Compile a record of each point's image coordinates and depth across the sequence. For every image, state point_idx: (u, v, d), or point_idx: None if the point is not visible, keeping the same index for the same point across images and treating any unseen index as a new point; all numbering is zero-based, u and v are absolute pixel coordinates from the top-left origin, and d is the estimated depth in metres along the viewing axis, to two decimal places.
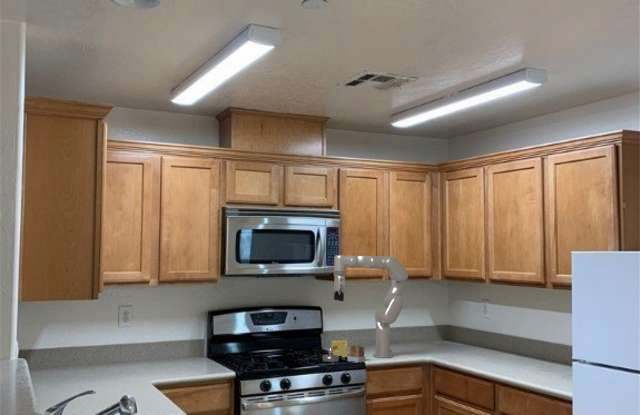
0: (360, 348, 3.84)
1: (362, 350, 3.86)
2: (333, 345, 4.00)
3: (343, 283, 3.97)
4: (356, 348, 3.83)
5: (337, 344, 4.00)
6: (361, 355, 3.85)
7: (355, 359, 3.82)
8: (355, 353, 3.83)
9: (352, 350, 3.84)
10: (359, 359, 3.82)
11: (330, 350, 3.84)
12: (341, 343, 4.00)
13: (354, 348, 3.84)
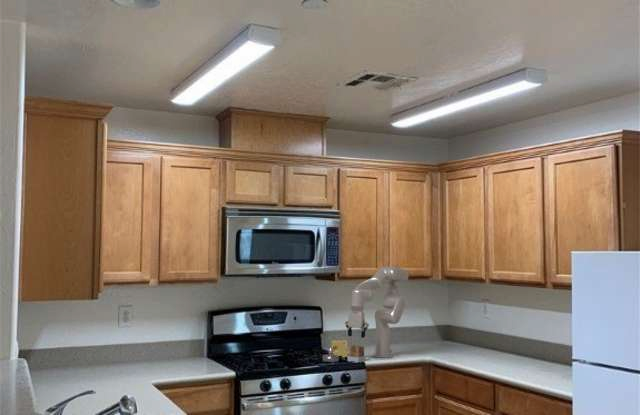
0: (360, 348, 3.84)
1: (362, 350, 3.86)
2: (333, 345, 4.00)
3: None
4: (356, 348, 3.83)
5: (337, 344, 4.00)
6: (361, 355, 3.85)
7: (355, 359, 3.82)
8: (355, 353, 3.83)
9: (352, 350, 3.84)
10: (359, 359, 3.82)
11: (330, 350, 3.84)
12: (341, 343, 4.00)
13: (354, 348, 3.84)
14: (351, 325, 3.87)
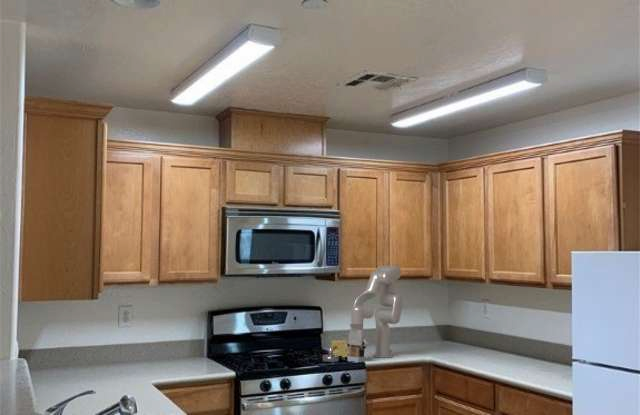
0: None
1: None
2: (333, 345, 4.00)
3: None
4: (356, 348, 3.83)
5: (337, 344, 4.00)
6: None
7: (355, 359, 3.82)
8: (355, 353, 3.83)
9: (352, 350, 3.84)
10: (359, 359, 3.82)
11: (330, 350, 3.84)
12: (341, 343, 4.00)
13: (354, 348, 3.84)
14: (351, 342, 3.86)
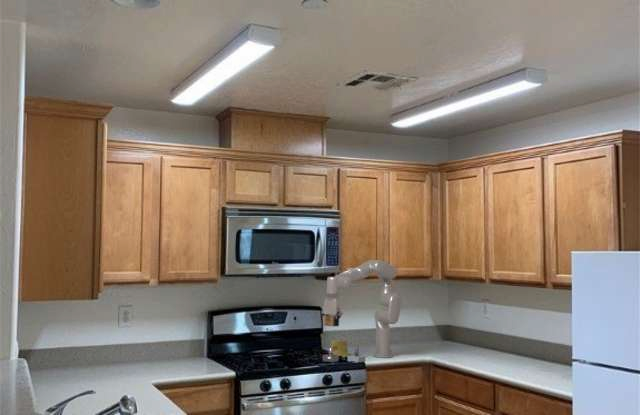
0: None
1: None
2: (333, 345, 4.00)
3: None
4: (331, 317, 3.82)
5: (337, 344, 4.00)
6: None
7: (355, 359, 3.82)
8: (329, 322, 3.82)
9: (327, 319, 3.84)
10: (359, 359, 3.82)
11: (330, 350, 3.84)
12: (341, 343, 4.00)
13: (329, 317, 3.83)
14: (326, 312, 3.86)
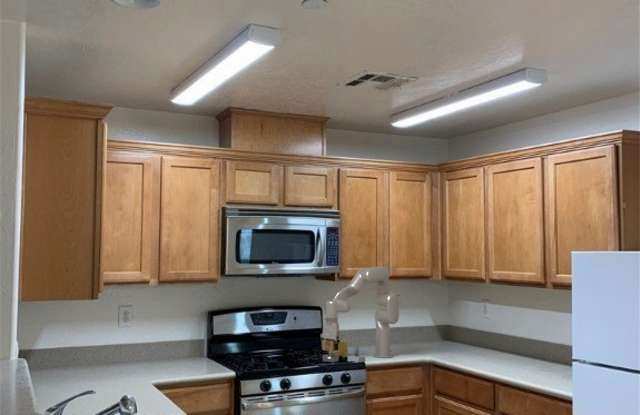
0: (334, 342, 3.82)
1: None
2: None
3: None
4: (330, 342, 3.81)
5: None
6: None
7: (355, 359, 3.82)
8: (329, 347, 3.81)
9: (326, 344, 3.83)
10: (359, 359, 3.82)
11: None
12: (341, 343, 4.00)
13: (328, 342, 3.82)
14: (326, 336, 3.84)
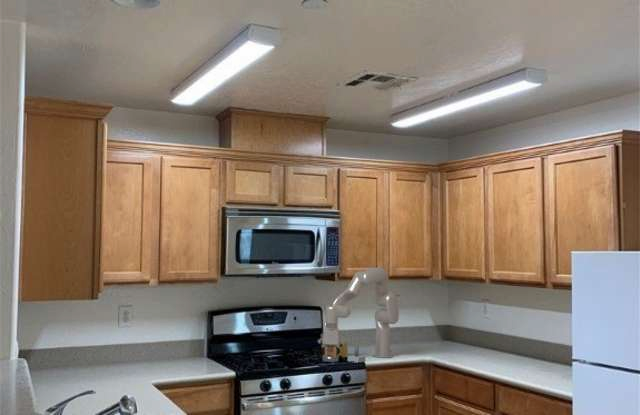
0: (336, 347, 3.83)
1: (336, 349, 3.86)
2: None
3: (323, 335, 3.85)
4: (333, 348, 3.81)
5: None
6: (336, 354, 3.84)
7: (355, 359, 3.82)
8: (332, 353, 3.81)
9: (329, 350, 3.81)
10: (359, 359, 3.82)
11: None
12: None
13: (331, 348, 3.81)
14: (327, 342, 3.83)
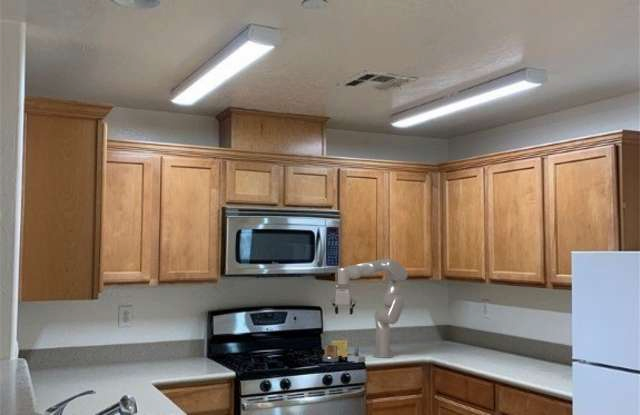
0: (336, 347, 3.83)
1: (336, 349, 3.86)
2: None
3: None
4: (333, 348, 3.81)
5: (337, 344, 4.00)
6: (336, 354, 3.84)
7: (355, 359, 3.82)
8: (332, 353, 3.81)
9: (329, 350, 3.81)
10: (359, 359, 3.82)
11: None
12: (341, 343, 4.00)
13: (331, 348, 3.81)
14: (339, 302, 3.91)
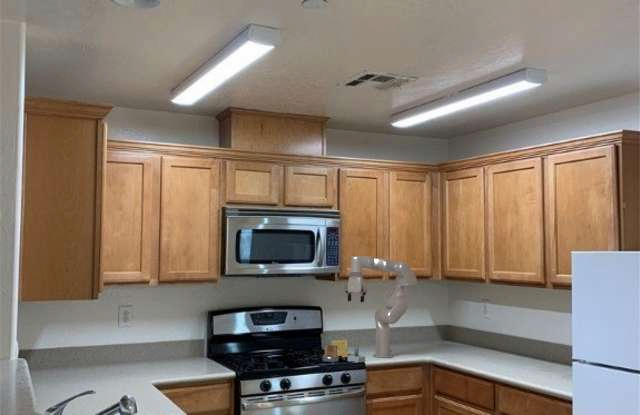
0: (336, 347, 3.83)
1: (336, 349, 3.86)
2: None
3: None
4: (333, 348, 3.81)
5: (337, 344, 4.00)
6: (336, 354, 3.84)
7: (355, 359, 3.82)
8: (332, 353, 3.81)
9: (329, 350, 3.81)
10: (359, 359, 3.82)
11: None
12: (341, 343, 4.00)
13: (331, 348, 3.81)
14: (351, 290, 3.98)
